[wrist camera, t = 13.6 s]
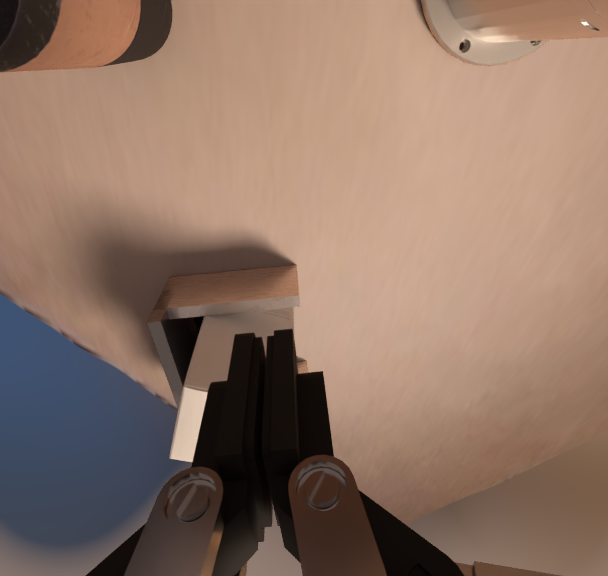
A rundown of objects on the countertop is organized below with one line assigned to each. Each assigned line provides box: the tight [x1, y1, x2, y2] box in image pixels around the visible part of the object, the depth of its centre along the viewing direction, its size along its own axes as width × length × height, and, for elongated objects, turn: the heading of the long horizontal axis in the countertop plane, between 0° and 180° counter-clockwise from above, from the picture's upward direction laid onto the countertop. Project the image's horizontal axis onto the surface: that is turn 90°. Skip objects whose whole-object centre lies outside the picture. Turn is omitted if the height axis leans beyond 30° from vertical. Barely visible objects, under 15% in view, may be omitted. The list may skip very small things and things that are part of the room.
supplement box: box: [170, 307, 295, 462], centre depth 37 cm, size 9×9×15 cm
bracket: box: [147, 265, 308, 409], centre depth 41 cm, size 13×14×8 cm
